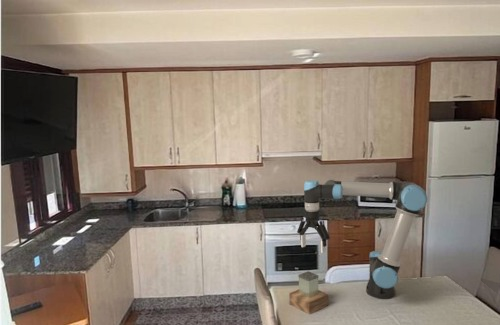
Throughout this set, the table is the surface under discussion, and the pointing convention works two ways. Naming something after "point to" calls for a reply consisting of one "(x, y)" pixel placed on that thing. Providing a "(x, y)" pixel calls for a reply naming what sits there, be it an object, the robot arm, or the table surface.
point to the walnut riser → (308, 301)
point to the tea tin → (308, 284)
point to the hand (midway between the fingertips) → (313, 249)
